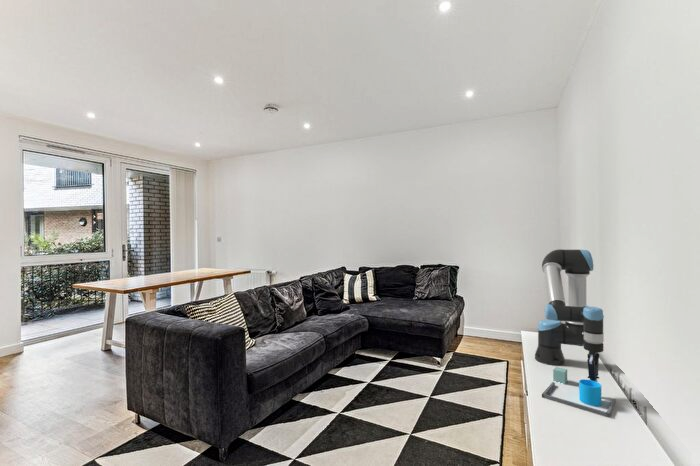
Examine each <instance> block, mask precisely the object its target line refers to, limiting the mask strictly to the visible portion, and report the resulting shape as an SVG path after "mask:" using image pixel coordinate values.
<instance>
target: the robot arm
mask: <svg viewBox="0 0 700 466" xmlns="http://www.w3.org/2000/svg"><path fill="white" fill-rule="evenodd" d="M541 270H542V272H543V273H544V280H545V285H546V287H545V288H546V293H547V294H546V295H547V303H548V304H545V306H544V317H545V319H542V320H540V321H539V322H538V324H537V331H538V332H537V333H538V334H537V340H538V341H537V343H538V344H537V348H536V350H535V352H534V359H535V361H537V362H539V363H541V364H545V363H546V365H549V364H551V366H562V365H564V364H565V363H566V360H565V359H566V358H565V356H564V353H563V350H562V345H568V346H569V345H570V346H578V347H583V349H584V350H586V351H588V353H587V361H586V362H587V367H588V368H587V369H588V371H587V372H588V376H587V379H589V380H592V381H596V382H598V379H600V376H599V366H600V365H599V362H600V353H603V352H604V340H605V339H604V319H605V318H604V310H603V309H602V308H601V307H597V306H589V305H587V277H589V275H591V272H593V271H594V259H593V256H592V254H591V252H590V251H589V250H588V249H561V248H560V249H559V248H558V249H554V250H552V251H550V252H549V253H547V254H546V255H545V256H544V258H543V260H542V263H541ZM562 270H563V271H564V273H565V274H566V275H567V276H568V277H567V279H568V280H567V281H568V282H567V283H568V284H567V286H568V287H567V288H568V290H567V291H568V294H567V295H568V301H567V302H568V304H567V305H566V298H565V293H564V287H563V281H562V274H561V272H562ZM563 322H564V323H563Z"/></svg>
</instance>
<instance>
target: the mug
mask: <svg viewBox="0 0 700 466" xmlns="http://www.w3.org/2000/svg"><path fill="white" fill-rule="evenodd" d="M578 382H579V383H578V395H579V396H578V397H579V398H578V399H579V402H581V403H582V404H583V405H586V406H589V407H600V406H601V405H602V384H601V383H600V382H598V381H597V382H596V381H592V380H590V379H588V378H587V379H584V378H583V379H580V380H579V381H578Z"/></svg>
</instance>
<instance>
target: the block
mask: <svg viewBox="0 0 700 466" xmlns="http://www.w3.org/2000/svg"><path fill="white" fill-rule="evenodd" d="M552 372H553V374H552V375H553V376H552V378H553V379H552V380H553V382H554V381H556V382H555V383H558V382H560V383H559V384H561V383H563V384H562V385H566V384H567V382H568V368H563V367H559V366H555V367H554V368H553V369H552Z"/></svg>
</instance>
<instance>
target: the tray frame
mask: <svg viewBox="0 0 700 466" xmlns="http://www.w3.org/2000/svg"><path fill="white" fill-rule="evenodd" d="M555 386H556V382H554V381H553V382H551V383H550V384H549V386H547V388H546V389H545V390H544V391H542V393H541V398H543V399H546V400H549V401H553V402H557V403H559V404H563V405H565V406H570V407H573V408H576V409H579V410H582V411H587V412H590V413H593V414H595V415H599V416H602V417H605V418H610V416H611V415H612V412H613V410H614V408H615V405H616V403H617V398H614V397H613V398H612V400H611V402H610V404H609V407H608V409H607V411H605V410H600V409H597V408H594V407H592V406H588V405H585V404H580V403H577V402H573V401H569V400H567V399H563V398H559V397H556V396H554V395H549V394H550V393H551V391H552V390H553V389H554V388H555Z"/></svg>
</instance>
